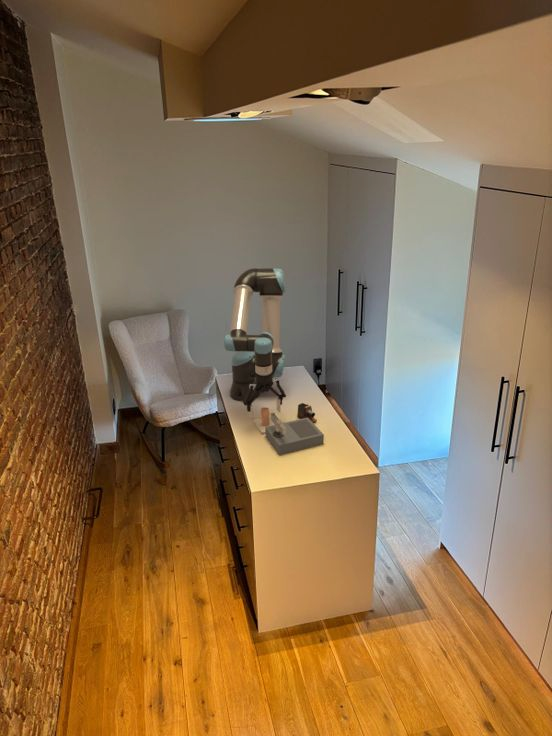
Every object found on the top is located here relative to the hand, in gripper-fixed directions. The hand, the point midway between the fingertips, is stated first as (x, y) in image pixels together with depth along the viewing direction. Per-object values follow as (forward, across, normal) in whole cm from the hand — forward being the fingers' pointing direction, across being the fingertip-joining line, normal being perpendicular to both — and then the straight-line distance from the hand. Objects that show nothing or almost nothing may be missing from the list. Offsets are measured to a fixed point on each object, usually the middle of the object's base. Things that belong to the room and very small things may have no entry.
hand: (264, 414), depth 250 cm
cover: (+7, 0, 0) cm, 7 cm away
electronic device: (+7, +20, -2) cm, 22 cm away
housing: (+7, +8, -16) cm, 19 cm away
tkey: (+2, 0, -16) cm, 16 cm away
